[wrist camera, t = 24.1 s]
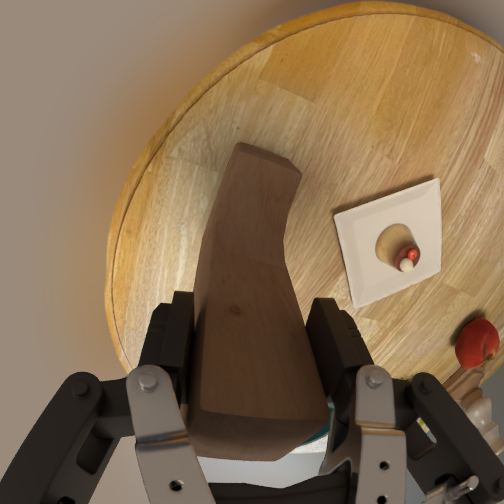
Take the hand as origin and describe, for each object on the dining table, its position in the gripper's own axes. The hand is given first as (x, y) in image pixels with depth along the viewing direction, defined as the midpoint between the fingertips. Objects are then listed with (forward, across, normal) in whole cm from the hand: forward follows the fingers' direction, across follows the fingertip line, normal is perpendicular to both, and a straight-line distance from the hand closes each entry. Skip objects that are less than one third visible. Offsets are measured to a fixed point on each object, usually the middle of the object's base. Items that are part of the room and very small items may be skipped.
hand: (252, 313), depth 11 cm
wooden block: (+14, 0, 0) cm, 14 cm away
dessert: (+14, -16, +3) cm, 22 cm away
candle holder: (+14, -54, +35) cm, 66 cm away
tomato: (+14, -41, +18) cm, 47 cm away
